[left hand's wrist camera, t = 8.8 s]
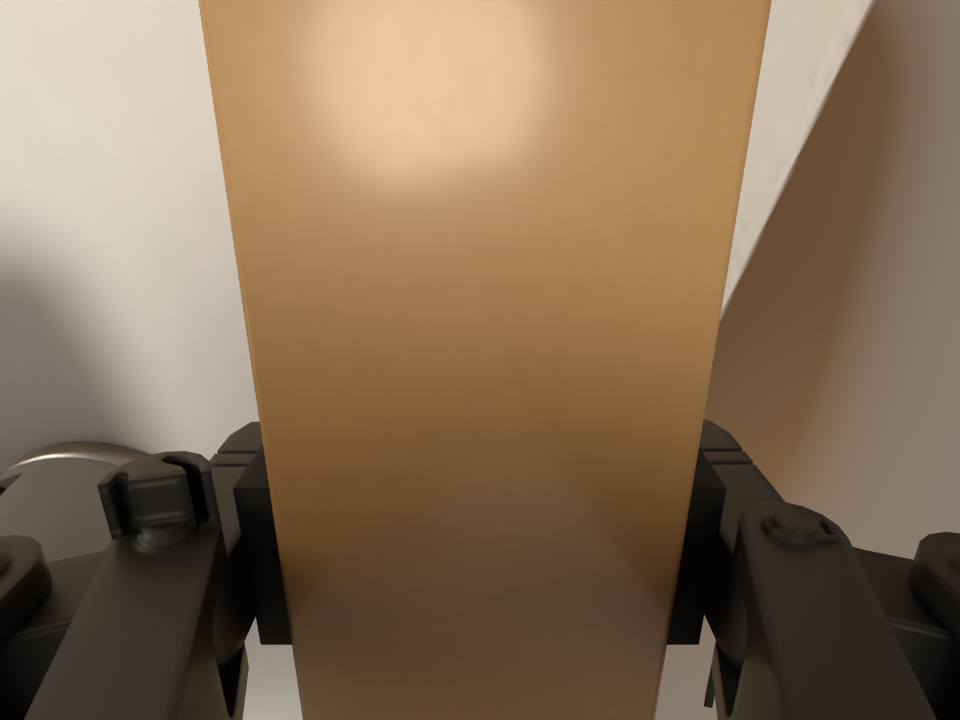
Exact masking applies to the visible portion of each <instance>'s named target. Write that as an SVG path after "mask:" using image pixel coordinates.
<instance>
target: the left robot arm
mask: <svg viewBox="0 0 960 720" xmlns="http://www.w3.org/2000/svg"><path fill="white" fill-rule="evenodd" d="M704 615H705V617H706V619H707V621H708V623H709V625H710V628H711V630H712V632H713V634H714V636H715V639H716V643H715V648H714V653H713V659H712V664H711V669H710V674H709V679H708V684H707V689H706V695H705V702H704V706H706V707H710V708H712V706H713V701H714V696H715V700H716V708H717V717H718V720H960V534H959V533H950V532H942V533H935V534H929V535H928V536H926V537H925V538H924V539H922V540H921V541H920V543H919V546H918V549H917V552H916V555H915V558H914V560H912V559H907V558H902V557H896V556H891V555H887V554H881V553H876V552H871V551H866V550H862V549H859V548H855V547H852V545H851V543H850V541H849V539H848V537H847V536H846V535H845V534H844V532H843V531H842V530H841V529H840V527H839V526H838V525H836V524H835V523H834V522H832V521H831V520H829V519H828V518H826V517H825V516H823V515H822V514H819V513H817V512H815V511H812V510H810V509H808V508H805V507H803V506H799V505H794V504H790V503H786V502H785V501H784V500H783V499H782V497H781V496H780V495H779V494H778V492H777V491H776V490H775V489H774V487H773V486H772V485H771V484H770V482H769V481H768V480H767V479H766V477H765V476H764V475H763V474H762V473H761V471H760V470H759V469H758V468H757V466H756V465H753V461H752V460H751V459H750V458H749V456H748V455H747V454H746V453H745V452H742V448H741V446H740V445H739V444H738V443H737V441H736V440H735V439H734V438H733V436H732V435H731V434H730V433H729V432H727V431H726V430H724V429H722V428H721V427H719V426H717V425H716V424H714V423H713V422H711V421H709V420H703V425H702V431H701V437H700V443H699V449H698V455H697V462H696V468H695V474H694V480H693V486H692V492H691V499H690V505H689V511H688V517H687V523H686V529H685V535H684V542H683V548H682V554H681V560H680V566H679V572H678V578H677V585H676V591H675V597H674V603H673V609H672V615H671V622H670V628H669V634H668V640H667V645H698V644H699V640H700V635H701V629H702V623H703V618H704ZM255 617H256V620H257V626H258V631H259V637H260V643H261V645H292V640H291V633H290V626H289V619H288V612H287V605H286V598H285V592H284V585H283V578H282V571H281V564H280V557H279V550H278V543H277V537H276V530H275V523H274V516H273V509H272V502H271V495H270V488H269V482H268V475H267V468H266V461H265V454H264V447H263V440H262V433H261V426H260V422H251V423H249V424H247V425H246V426H244V427H243V428H241V429H239V430H238V431H236V432H234V433H233V434H231V435H230V436H229V437H228V438H227V440H226V441H225V442H224V443H223V445H222V446H221V447H220V448H219V450H218V454H215V455H214V456H213V457H212V458H211V460H210V461H208V460H207V459H206V458H204V457H203V456H202V455H201V454H196V453H191V452H186V451H178V452H163V453H158V454H153V455H148V456H147V455H144V454H142V453H139V452H136V451H133V450H130V449H127V448H123V447H118V446H114V445H108V444H102V443H89V442H78V443H66V444H59V445H54V446H50V447H46V448H43V449H40V450H38V451H35V452H33V453H31V454H29V455H27V456H25V457H24V458H22V459H20V460H19V461H18V462H16V463H15V464H13V465H12V466H11V467H9V468H8V469H6V470H5V471H4V472H2V473H1V474H0V720H242V718H243V710H244V702H245V694H246V685H247V677H248V669H249V667H248V660H247V653H246V648H245V643H244V641H245V639H246V636H247V634H248V632H249V630H250V628H251V625H252V623H253V621H254V619H255Z"/></svg>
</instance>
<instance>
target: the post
mask: <svg viewBox="0 0 960 720" xmlns="http://www.w3.org/2000/svg"><path fill="white" fill-rule="evenodd" d="M770 6H771V0H199V7H200V14H201V21H202V27H203V34H204V41H205V48H206V55H207V62H208V69H209V76H210V83H211V89H212V96H213V103H214V110H215V117H216V124H217V131H218V138H219V144H220V151H221V158H222V165H223V172H224V179H225V186H226V193H227V199H228V206H229V213H230V220H231V227H232V234H233V241H234V248H235V254H236V261H237V268H238V275H239V282H240V289H241V296H242V303H243V310H244V316H245V323H246V330H247V337H248V344H249V351H250V358H251V365H252V371H253V378H254V385H255V392H256V399H257V406H258V413H259V420H260V426H261V433H262V440H263V447H264V454H265V461H266V468H267V475H268V482H269V488H270V495H271V502H272V509H273V516H274V523H275V530H276V537H277V543H278V550H279V557H280V564H281V571H282V578H283V585H284V592H285V598H286V605H287V612H288V619H289V626H290V633H291V640H292V647H293V654H294V660H295V667H296V674H297V681H298V688H299V695H300V702H301V709H302V715H303V720H655V714H656V708H657V702H658V695H659V689H660V683H661V677H662V671H663V664H664V658H665V652H666V646H667V640H668V634H669V628H670V622H671V615H672V609H673V603H674V597H675V591H676V585H677V578H678V572H679V566H680V560H681V554H682V548H683V542H684V535H685V529H686V523H687V517H688V511H689V505H690V499H691V492H692V486H693V480H694V474H695V468H696V462H697V455H698V449H699V443H700V437H701V431H702V425H703V418H704V412H705V406H706V400H707V394H708V388H709V382H710V376H711V369H712V363H713V357H714V351H715V344H716V339H717V332H718V326H719V320H720V314H721V308H722V302H723V296H724V289H725V283H726V277H727V271H728V265H729V259H730V252H731V246H732V240H733V234H734V228H735V222H736V216H737V209H738V203H739V197H740V191H741V185H742V179H743V173H744V166H745V160H746V154H747V148H748V142H749V136H750V129H751V123H752V117H753V111H754V105H755V99H756V93H757V86H758V80H759V74H760V68H761V62H762V56H763V50H764V43H765V37H766V31H767V25H768V19H769V13H770Z"/></svg>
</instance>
